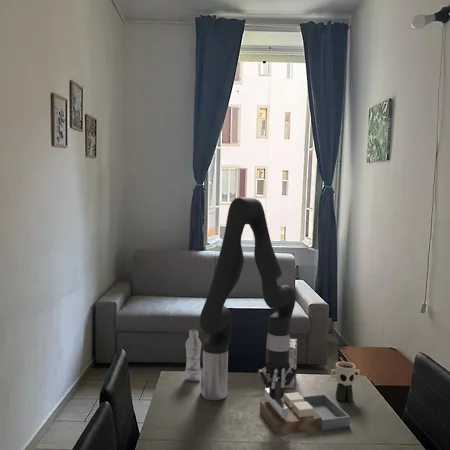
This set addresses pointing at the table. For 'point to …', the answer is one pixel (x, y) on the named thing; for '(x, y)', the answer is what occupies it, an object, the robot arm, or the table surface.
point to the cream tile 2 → (303, 409)
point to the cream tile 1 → (292, 398)
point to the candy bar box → (292, 361)
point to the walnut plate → (289, 420)
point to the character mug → (345, 379)
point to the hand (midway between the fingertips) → (276, 397)
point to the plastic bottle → (193, 356)
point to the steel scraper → (277, 400)
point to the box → (328, 412)
